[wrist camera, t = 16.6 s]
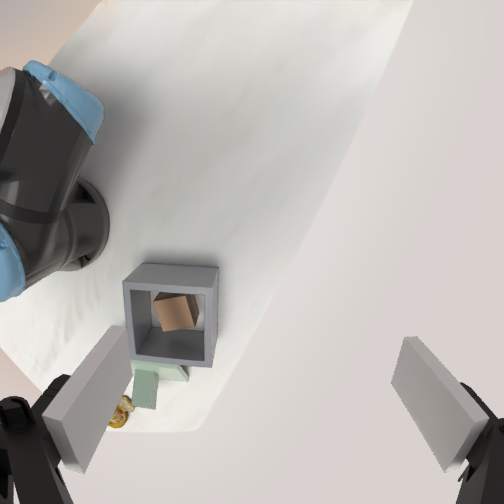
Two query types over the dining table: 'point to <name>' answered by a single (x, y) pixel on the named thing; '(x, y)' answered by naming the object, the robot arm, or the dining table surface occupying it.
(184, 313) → the block
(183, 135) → the dining table surface
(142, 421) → the dining table surface
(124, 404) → the fruit
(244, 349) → the dining table surface
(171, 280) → the storage box
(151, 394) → the lid
